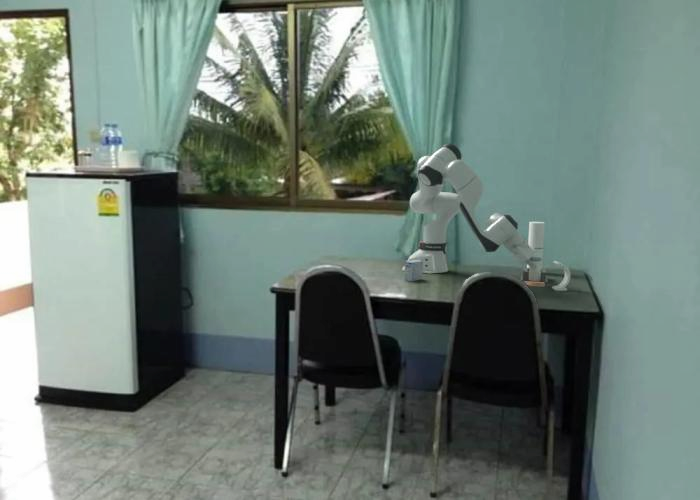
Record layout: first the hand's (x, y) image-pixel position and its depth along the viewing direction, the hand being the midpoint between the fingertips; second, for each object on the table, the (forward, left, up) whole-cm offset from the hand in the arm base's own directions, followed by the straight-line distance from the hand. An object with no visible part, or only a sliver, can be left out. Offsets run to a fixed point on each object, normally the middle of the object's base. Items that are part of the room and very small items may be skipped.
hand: (536, 267), depth 273 cm
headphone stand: (+10, -7, -8) cm, 15 cm away
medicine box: (-54, -8, -8) cm, 55 cm away
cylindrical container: (-1, +31, -8) cm, 32 cm away
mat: (-1, 0, -8) cm, 8 cm away
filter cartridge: (-1, 0, -6) cm, 6 cm away
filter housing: (-1, +12, -8) cm, 15 cm away
